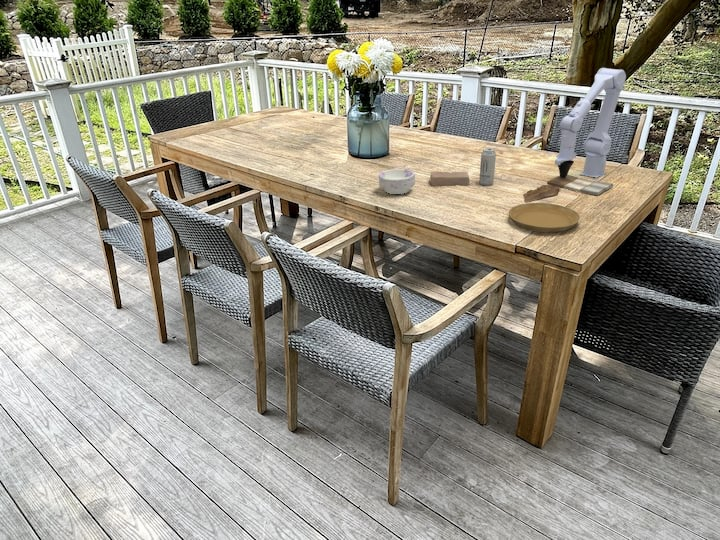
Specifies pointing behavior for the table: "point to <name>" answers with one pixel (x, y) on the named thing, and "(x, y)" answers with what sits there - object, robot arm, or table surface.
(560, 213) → the plant saucer
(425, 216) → the table surface
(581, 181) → the ash board
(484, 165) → the energy drink can
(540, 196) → the fossil skeleton slab
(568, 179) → the walnut plank
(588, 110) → the robot arm
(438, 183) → the brick
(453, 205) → the table surface
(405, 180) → the paper bowls
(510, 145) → the table surface
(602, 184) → the grey oak plank
